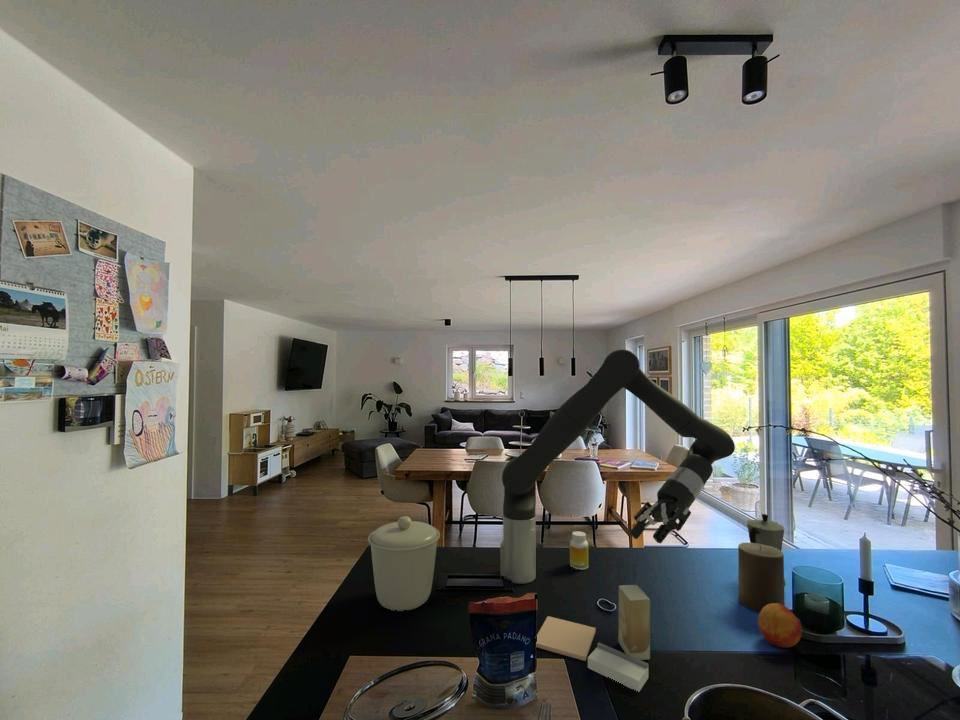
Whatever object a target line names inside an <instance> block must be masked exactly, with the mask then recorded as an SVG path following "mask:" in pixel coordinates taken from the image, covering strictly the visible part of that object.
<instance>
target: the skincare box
mask: <svg viewBox="0 0 960 720" xmlns="http://www.w3.org/2000/svg"><path fill="white" fill-rule="evenodd" d="M617 639H618V644H619V645H620V647H621V648H622V650H623V653H625V654H627V655H630V656H632V657H634V658H637V659H639V660H641V661H645V660H647V661H648V660H650V659H651V599H650V598H649V597H648V595H647V594H646V593H645V592H644V591H643V590H642V589H641V588H640V587H639V585H637V584H627V585H626V584H623V585H618V638H617Z"/></svg>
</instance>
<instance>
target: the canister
mask: <svg viewBox="0 0 960 720" xmlns="http://www.w3.org/2000/svg"><path fill="white" fill-rule="evenodd" d="M440 536H441V533H440V531H439V529H437V528H436V527H434V526H432V524H431V525H430V524H429V523H426V522H423V521H415V520H412V519H411V517H409V516H408V515H405V516H404V515H403V516H400V517H398V520H397V521H395V522H389V523H387V524H384V525H381V526H379V527H378V528H376V529H375V530H373V531H372V532H371V533H370V534H369V535H368V537H367V542H368V544H369V545H370V550H371V561H372V571H373V581H374V587H375V588H374V589H375V593H376V598H377V601H378V602H379V604H380V605H381V607H383V608H385V609H386V608H387V610H388V609H390V610H389V611H395V610H397V611H395V612H405V611H404V610H407V611H411V610H415V609H417V608H419V606H420V607H421V606H423V605H424V604H425V603H426V602H427V600H428V599H429V597H430V595H431V592H432V587H433V580H434V573H435V564H436V556H437V545H438V540H439V539H440ZM422 604H423V605H422Z"/></svg>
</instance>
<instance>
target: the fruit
mask: <svg viewBox="0 0 960 720" xmlns="http://www.w3.org/2000/svg"><path fill="white" fill-rule="evenodd" d="M757 625H758V628H759V631H760V633H761V635H762V636H763V637H764V639H765V640H766V641H767V643H770V644H771V645H773V646H775V647H779V648H786V649H787V648H791V647H794V646H795V645H797V644H798V643H799V641H801V637H802V633H803V632H802V631H803V630H802V629H803V628H802V623H801V621H800V619H799V618H798V617H797V616H795V614H794V613H793V611H791V610H790V609H789V608H788V607H787V606H786V605H785V606H784V605H782V604H779V603H770V604H768V605H766V606H764V607H763V609H762V610H761V612H760V613H759V614H758V617H757Z"/></svg>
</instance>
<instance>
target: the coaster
mask: <svg viewBox="0 0 960 720" xmlns="http://www.w3.org/2000/svg"><path fill="white" fill-rule="evenodd" d="M595 635H596V627H593V626H588V625H585V624H582V623H577V622H573V621H569V620H566V619H562V618H558V617H553V616H549V615H547V617H546V618H545V620H544V622H543V624H542V625H541V627H540V629H539V630H538V633H537V634H536V636H537V642H536V647H535V648H537V649H542V650H546V651H549V652H552V653H556V654H559V655H563V656H567V657H570V658H573V659H577V660H580V661H583V662H586V660H587V659H588V654H589V652H590V649H591V646H592V643H593V640H594V637H595Z"/></svg>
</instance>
